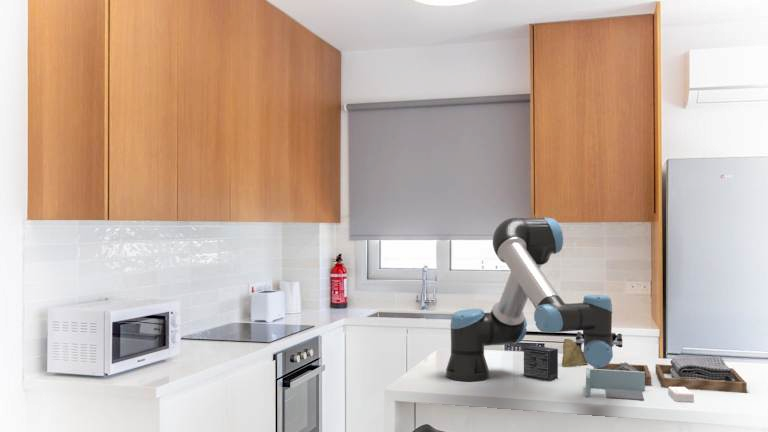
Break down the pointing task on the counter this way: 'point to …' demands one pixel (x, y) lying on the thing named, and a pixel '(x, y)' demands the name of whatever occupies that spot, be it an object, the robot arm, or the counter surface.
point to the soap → (681, 394)
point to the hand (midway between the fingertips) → (599, 333)
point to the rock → (572, 354)
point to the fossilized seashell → (625, 367)
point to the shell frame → (639, 367)
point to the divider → (614, 380)
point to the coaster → (624, 394)
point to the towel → (701, 368)
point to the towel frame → (700, 381)
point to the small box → (541, 363)
